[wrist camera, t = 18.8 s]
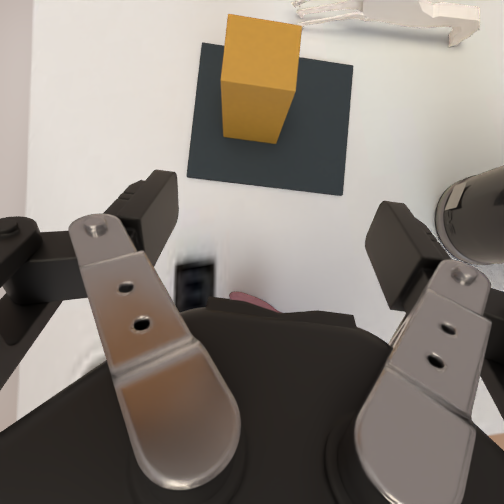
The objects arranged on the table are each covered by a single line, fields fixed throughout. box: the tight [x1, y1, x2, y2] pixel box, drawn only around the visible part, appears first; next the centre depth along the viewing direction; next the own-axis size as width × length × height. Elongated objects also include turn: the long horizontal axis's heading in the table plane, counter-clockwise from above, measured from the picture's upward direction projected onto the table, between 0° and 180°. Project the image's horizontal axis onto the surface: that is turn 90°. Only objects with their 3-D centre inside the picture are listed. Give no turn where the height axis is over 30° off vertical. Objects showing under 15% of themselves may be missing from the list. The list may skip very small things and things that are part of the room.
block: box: [221, 14, 302, 144], centre depth 25 cm, size 5×5×9 cm
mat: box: [187, 43, 353, 196], centre depth 30 cm, size 16×14×1 cm
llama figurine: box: [291, 0, 480, 47], centre depth 29 cm, size 2×11×18 cm
